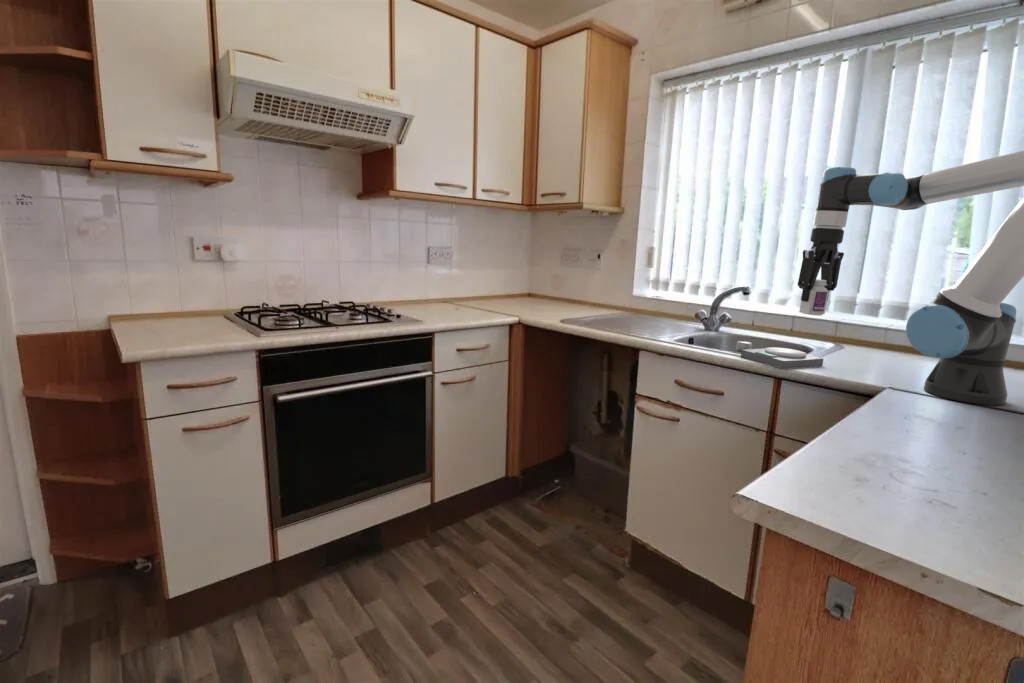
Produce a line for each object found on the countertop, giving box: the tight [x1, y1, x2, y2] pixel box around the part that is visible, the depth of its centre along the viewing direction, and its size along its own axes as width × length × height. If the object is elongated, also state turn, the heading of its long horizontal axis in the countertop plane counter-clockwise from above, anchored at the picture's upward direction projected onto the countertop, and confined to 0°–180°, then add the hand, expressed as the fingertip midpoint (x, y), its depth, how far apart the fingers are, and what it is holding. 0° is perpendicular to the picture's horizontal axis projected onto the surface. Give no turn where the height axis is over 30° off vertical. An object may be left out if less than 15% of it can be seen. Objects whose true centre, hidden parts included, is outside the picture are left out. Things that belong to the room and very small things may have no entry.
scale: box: [740, 346, 824, 370], centre depth 155 cm, size 16×15×3 cm
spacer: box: [735, 340, 753, 353], centre depth 167 cm, size 4×4×3 cm
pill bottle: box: [802, 278, 827, 317], centre depth 144 cm, size 5×5×10 cm
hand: (811, 312), depth 145 cm, fingers closed on pill bottle, 5 cm apart
